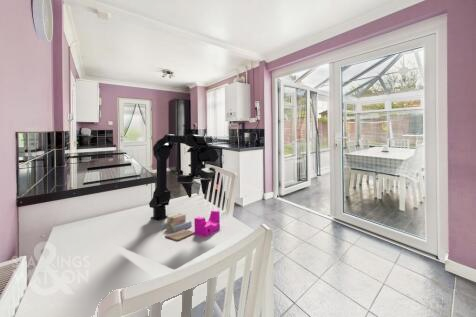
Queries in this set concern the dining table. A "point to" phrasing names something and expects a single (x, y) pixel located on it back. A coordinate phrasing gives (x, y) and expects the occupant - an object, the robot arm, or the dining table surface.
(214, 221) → the toy block
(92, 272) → the dining table surface
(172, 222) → the block
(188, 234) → the board
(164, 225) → the channel
